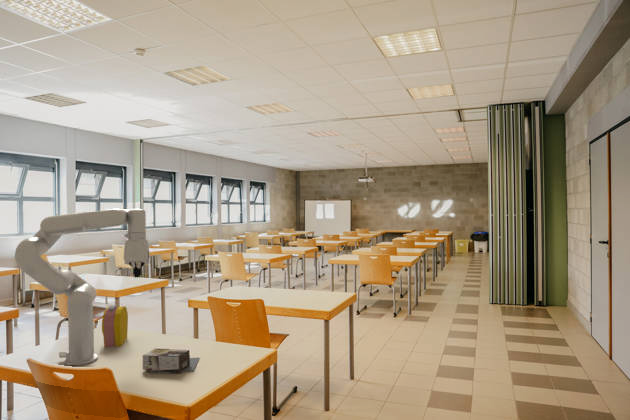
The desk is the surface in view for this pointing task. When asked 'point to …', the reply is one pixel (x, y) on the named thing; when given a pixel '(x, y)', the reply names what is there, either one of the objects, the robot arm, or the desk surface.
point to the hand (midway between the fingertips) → (137, 276)
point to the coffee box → (166, 360)
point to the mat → (188, 369)
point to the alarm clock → (114, 325)
